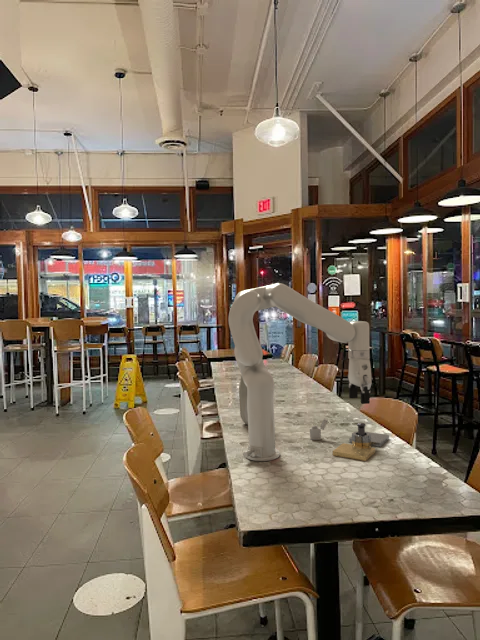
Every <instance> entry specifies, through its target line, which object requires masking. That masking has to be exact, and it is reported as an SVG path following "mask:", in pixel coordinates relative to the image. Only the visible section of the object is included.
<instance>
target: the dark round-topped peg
mask: <svg viewBox="0 0 480 640" xmlns="http://www.w3.org/2000/svg"><path fill="white" fill-rule="evenodd" d="M356 426H357V431H358V435H361V436H363V435H365V432H366V429H365V428H366V423H365V422H357V423H356Z"/></svg>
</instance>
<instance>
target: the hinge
mask: <svg viewBox="0 0 480 640" xmlns="http://www.w3.org/2000/svg"><path fill="white" fill-rule="evenodd" d="M348 439H349V441H348V443H341V444H339V446H337V447H336V448H335V449H333V450H332V456H333V457H334V456H335V457H340V458H346V459H352V460H357V461H363V462H367V461H368V460H369V459H370V458H371V457H372V456H373V455H374V454H375V453H376V448H375V447H378V448H381V447H382V446H384V445H385V444H386V443H387V441H389V439H390V434H386V433H385V434H384V433H376V432H368V431H365V435H363V436H361V435H358V430H357V431H354V432H352V433H351V436H350V437H349V438H348Z"/></svg>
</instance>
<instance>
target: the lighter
mask: <svg viewBox="0 0 480 640" xmlns="http://www.w3.org/2000/svg"><path fill="white" fill-rule="evenodd" d="M328 422H329V420H328V419H326V418H323V420H322V422H321V425H320V426H319V427H318V425H312V426H311V427H309V440H310V441H311V440H312V441H314V440H315V441H316V440H322V434H321V433H322V431H321V430H323V431H324V430H325V429H326V426H327V424H328Z"/></svg>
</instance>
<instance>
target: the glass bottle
mask: <svg viewBox="0 0 480 640" xmlns="http://www.w3.org/2000/svg"><path fill="white" fill-rule="evenodd" d="M238 399H239V416H240V419H241V420H242V422H243V423H244V424H245V425H248V411H247V386H246V385H245V383H244V381H243V378H242V375H241V374H240V381H239V387H238Z"/></svg>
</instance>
